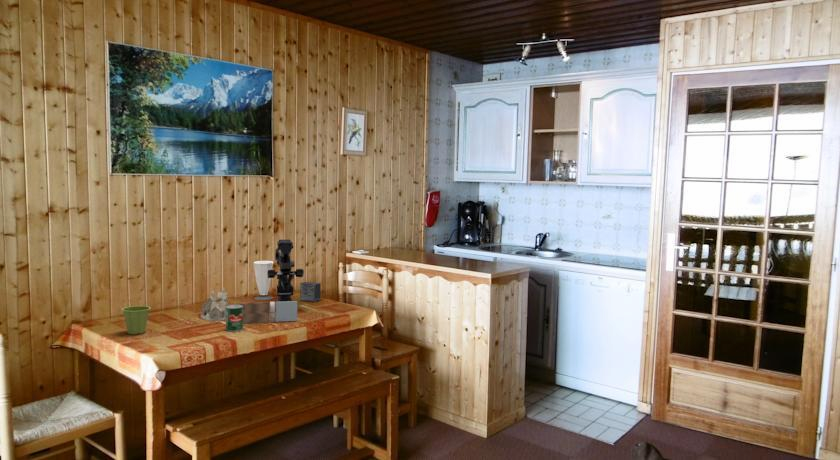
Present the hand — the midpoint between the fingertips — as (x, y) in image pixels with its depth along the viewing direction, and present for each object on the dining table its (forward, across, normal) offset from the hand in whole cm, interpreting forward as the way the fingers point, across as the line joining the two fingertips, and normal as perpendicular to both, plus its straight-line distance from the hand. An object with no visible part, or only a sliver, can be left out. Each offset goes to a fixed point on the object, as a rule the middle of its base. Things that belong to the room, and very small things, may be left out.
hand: (286, 288), depth 316 cm
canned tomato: (+27, -26, -20) cm, 42 cm away
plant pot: (+25, -68, -18) cm, 75 cm away
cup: (-9, -11, +42) cm, 44 cm away
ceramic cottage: (+13, -36, +3) cm, 38 cm away
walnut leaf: (+21, -15, -12) cm, 28 cm away
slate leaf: (+21, -2, -12) cm, 24 cm away
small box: (-3, +16, +31) cm, 35 cm away
